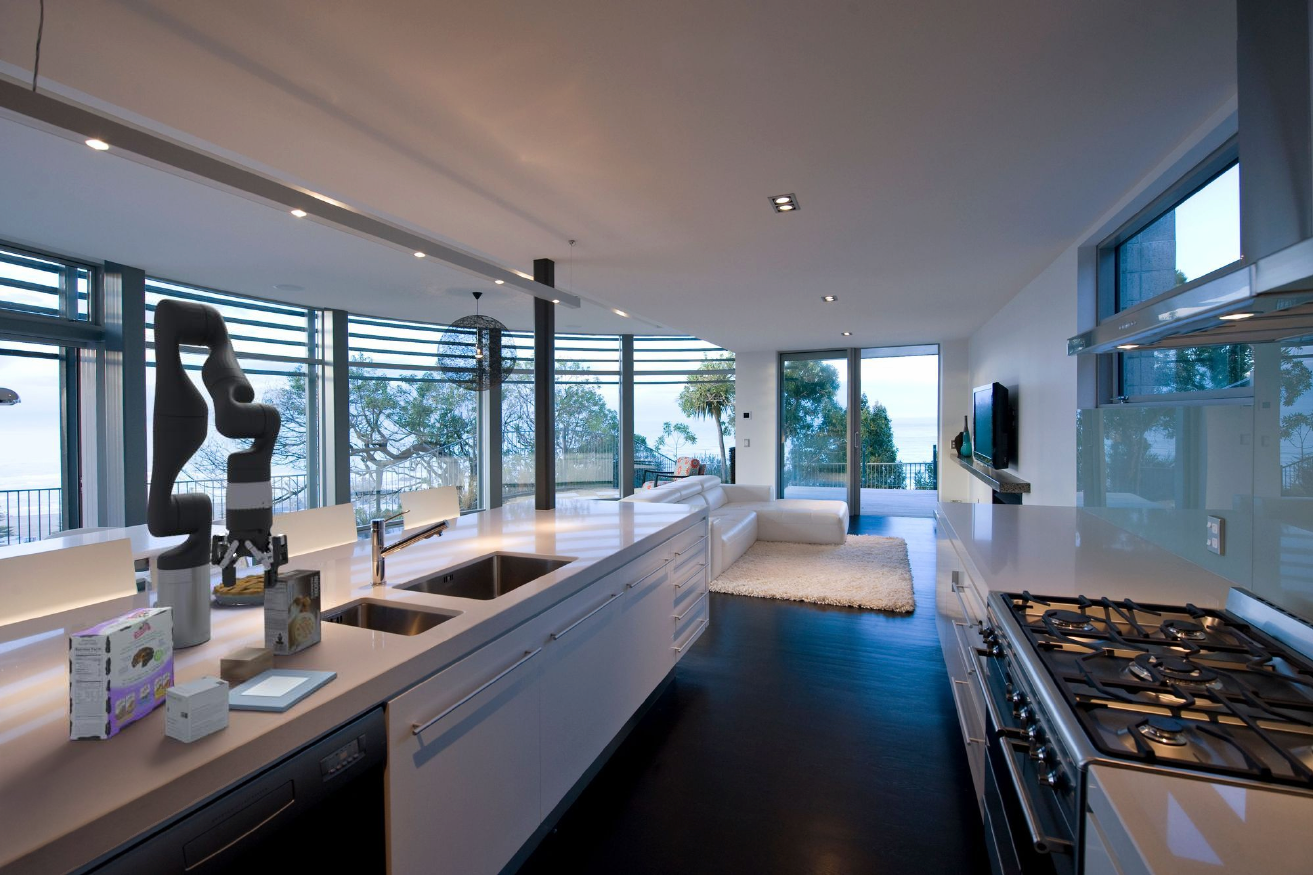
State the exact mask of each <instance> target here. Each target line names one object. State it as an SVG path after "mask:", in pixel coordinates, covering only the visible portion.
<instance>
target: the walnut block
mask: <svg viewBox="0 0 1313 875" xmlns="http://www.w3.org/2000/svg"><path fill="white" fill-rule="evenodd" d="M219 662H220V663H219V664H220V666H219V667H220V668H219V672H220V673H219V674H220V675H219V676H220V677H219V678H220V679H221V680H233V679H236V680H237V681H239V680H240V681H248V680H250V679H252V678H254V677H256V676H257V675H259V674H261V673H263V672H265V671H267V670H268V669H274V654H273V648H265V647H248V646H245V647H243V648H240V649H239V650H237V651H235V652H232V653H230V654H228V655H226V656H224V657H221V658H220V659H219Z"/></svg>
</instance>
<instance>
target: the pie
mask: <svg viewBox="0 0 1313 875" xmlns="http://www.w3.org/2000/svg"><path fill="white" fill-rule="evenodd" d="M283 573H284V572H278V575H280V574H283ZM263 579H264V573H262V574H249V575H246V576H244V577H236V585H235V586H232V587H229V588H228V587H224V584H223V583H222V582H220V583H219V584H218V585H217V584H216V585H215V586H214V587H213V590H212V592H211V595H213V596H214V597H215V598H216V600H217V602H218V601H219V602H221V603H220V604H222V603H224V604H235V605H234V606H238V605H237V604H255V605H261V604H260V603H264V580H263ZM219 602H218V603H219ZM224 604H223V605H224Z"/></svg>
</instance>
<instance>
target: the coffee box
mask: <svg viewBox="0 0 1313 875" xmlns="http://www.w3.org/2000/svg"><path fill="white" fill-rule="evenodd" d="M282 573H283V574H280V575H278V583H277V584H276V586H275V587H273V588H270V589H265V588H264V604H263V618H264V619H263V620H264V621H263V622H264V623H263V624H264V627H263V628H264V648H273V655H279V656H280V655H281V656H290V655H293V654H295V653H297V652H299V651H301V650H303V649H305V648H307V647H310V646H311V645H314V644H316V643H318V642H320V641H322V603H321V600H322V599H321V598H322V597H321V596H322V595H321V591H322V590H321V588H322V587H321V570H317V569H316V570H315V569H300V568H299V569H298V568H297V569H294V570H290V571H288V572H287V571H286V572H282ZM263 580H264V579H263Z"/></svg>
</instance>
